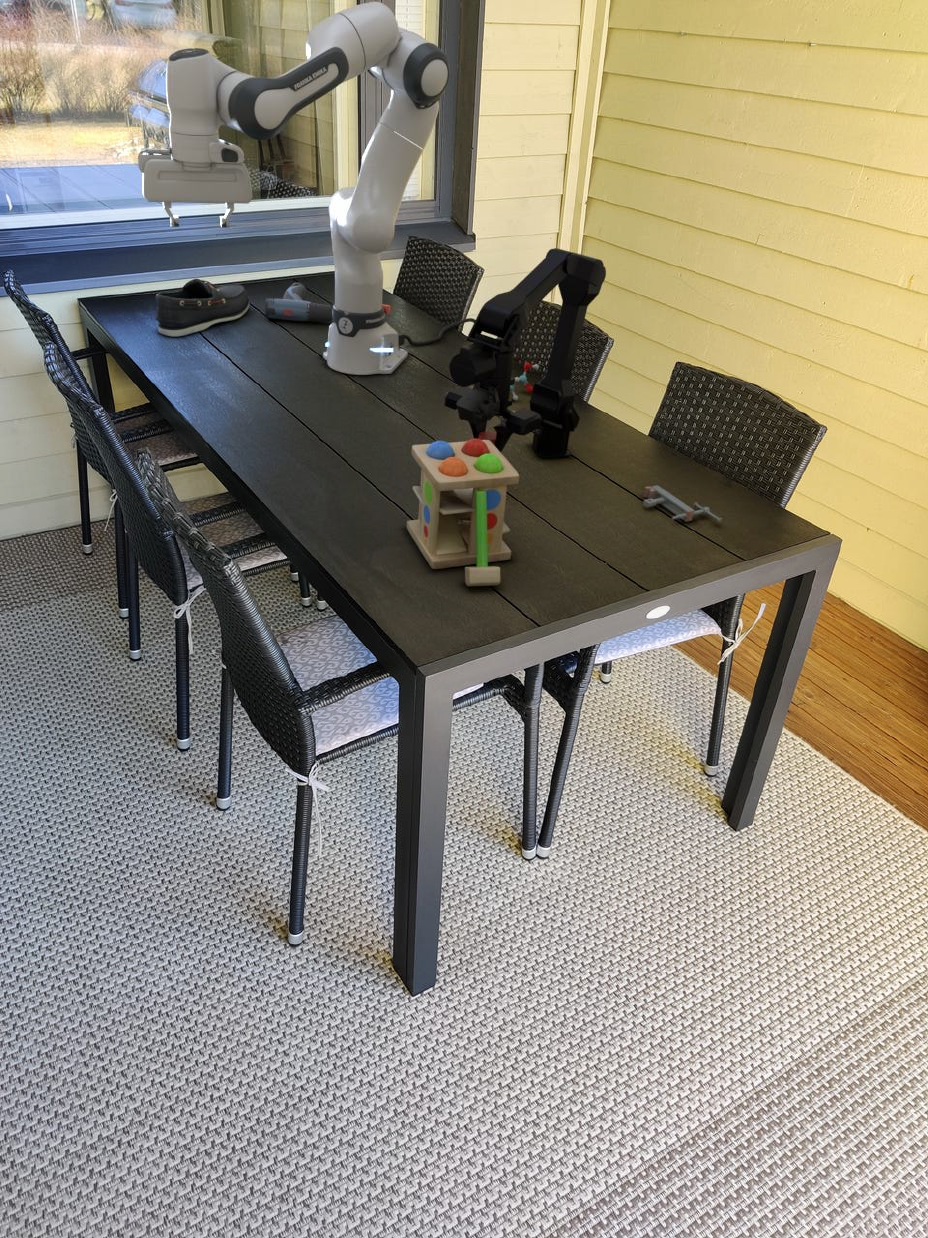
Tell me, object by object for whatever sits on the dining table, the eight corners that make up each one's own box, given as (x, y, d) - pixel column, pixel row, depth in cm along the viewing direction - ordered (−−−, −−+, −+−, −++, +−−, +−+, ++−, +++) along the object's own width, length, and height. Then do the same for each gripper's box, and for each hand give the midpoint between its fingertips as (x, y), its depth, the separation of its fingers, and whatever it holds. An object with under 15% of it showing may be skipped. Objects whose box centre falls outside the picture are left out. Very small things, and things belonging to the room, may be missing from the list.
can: (498, 462, 186) (500, 440, 183) (477, 461, 185) (479, 439, 183) (496, 453, 189) (499, 431, 186) (476, 452, 189) (478, 430, 186)
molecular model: (534, 392, 222) (521, 349, 221) (497, 406, 226) (483, 364, 224) (547, 391, 232) (534, 350, 231) (510, 404, 236) (497, 364, 235)
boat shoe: (268, 313, 265) (265, 274, 259) (176, 339, 241) (172, 296, 236) (232, 304, 271) (230, 265, 265) (140, 328, 247) (135, 286, 241)
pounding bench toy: (530, 586, 160) (545, 488, 150) (449, 597, 155) (458, 496, 145) (480, 519, 178) (490, 427, 168) (405, 527, 173) (411, 433, 163)
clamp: (632, 488, 188) (672, 480, 193) (630, 499, 190) (670, 490, 194) (684, 524, 178) (724, 515, 182) (681, 535, 179) (722, 525, 184)
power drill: (344, 304, 276) (335, 327, 259) (277, 298, 275) (264, 321, 258) (344, 285, 273) (335, 306, 256) (277, 279, 272) (264, 300, 255)
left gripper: (137, 149, 177) (145, 230, 185) (252, 153, 183) (254, 230, 191) (135, 143, 182) (143, 221, 190) (247, 147, 188) (250, 223, 196)
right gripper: (428, 368, 177) (423, 448, 186) (511, 399, 168) (501, 481, 177) (466, 355, 184) (459, 432, 193) (547, 384, 175) (537, 463, 184)
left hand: (200, 226), depth 190 cm, fingers open, 8 cm apart
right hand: (487, 452), depth 187 cm, fingers closed on can, 4 cm apart
